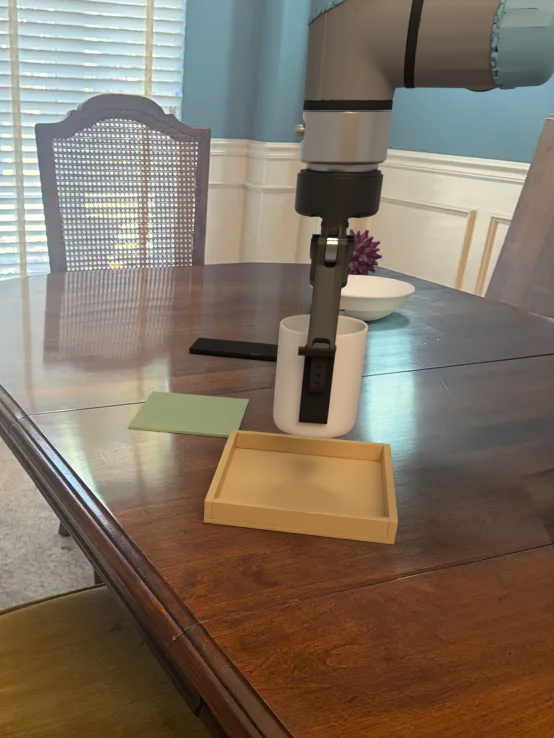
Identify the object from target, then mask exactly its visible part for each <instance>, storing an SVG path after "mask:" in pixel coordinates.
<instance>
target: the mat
mask: <svg viewBox="0 0 554 738" xmlns="http://www.w3.org/2000/svg"><path fill="white" fill-rule="evenodd" d="M249 403H250V399H249V398H238V397H225V396H215V395H202V394H193V393H192V394H191V393H190V394H189V393H180V392H179V393H178V392H167V391H155V390H154V391H153V390H152V391H151V393H150V394H149V396H148V397H147V399H146V400H145V401H144V403H143V405H142V406H141V407H140V409H139V410H138V412H136V414H135V416H134V417H133V419H132V420H131V421H130V423H129V425H128V429H129V430H140V431H151V432H163V433H170V434H171V433H172V434H173V433H174V434H182V435H192V436H193V435H195V436H204V437H212V438H213V437H214V438H225V439H228V437H229V435H230V432H231V430H241V429H240V428H241V426H242V422H243V421H244V418H245V414H246V411H247V408H248V406H249Z"/></svg>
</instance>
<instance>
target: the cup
mask: <svg viewBox="0 0 554 738" xmlns="http://www.w3.org/2000/svg"><path fill="white" fill-rule="evenodd" d="M309 321H310V313H306V314H305V313H304V314H297V315H292V316H287V317H285V318H283V319H281V320H280V322H279V330H278V332H279V333H278V342H277V343H278V344H277V345H278V355H277V360H276V369H275V381H274V393H273V407H272V417H273V422H274V424H275V426H276V427H277V428H278V429H279V430H280V431H282V432H284V433H285V434H288V435H295V436H300V437H306V438H330V439H335V438H338V437H342V436H344V435H346V434H348V433H349V432H351V431H352V429H353V428H354V427H355V425H356V421H357V416H358V409H359V401H360V393H361V387H362V385H361V384H362V379H363V370H364V364H365V355H366V350H367V349H366V348H367V341H368V334H369V325H368V323H366V321H361V320H358V319H355V318H351V317H346V316H338V325H337V334H336V343H335V345H336V346H337V349H336V354H335V362H334V370H333V379H332V387H331V396H330V404H329V413H328V422H327V424H317V423H304V422H298V421H299V410H300V400H301V390H302V379H303V369H304V359H305V356H298V347H299V346H302V347H305V345H306V343H307V340H308V330H309ZM314 341H325V342H330V341H329V340H328V339H315V340H314Z"/></svg>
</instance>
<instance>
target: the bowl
mask: <svg viewBox="0 0 554 738" xmlns="http://www.w3.org/2000/svg"><path fill="white" fill-rule="evenodd" d="M308 285H309V287H310V288H311V289H312V290H313V287H312V286H311V285H310V283H308ZM415 292H416V287H415V286H414V285H413V284H411V283H409V282H405V281H403V280H400V279H395V278H391V277H390V278H389V277H383V276H377V275H375V276H374V275H367V276H365V275H348V281H347V285H346V286H345V287H344V288H342V289H341V298H340V307H339V309H345V313H344V316H346V317H351V318H355V319H358V320H361V321H363V322H367V321H368V322H369V321H376V320H380V319H382V318H385V317H386V316H387V317H388V316H389V315H391V314H392V313H394V312H396V311H397V310H398V309H401V308H403V307H404V306H405V305H406V303H407V301H408V299H409V298H410V297H411V295H413V294H414V293H415Z"/></svg>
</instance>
